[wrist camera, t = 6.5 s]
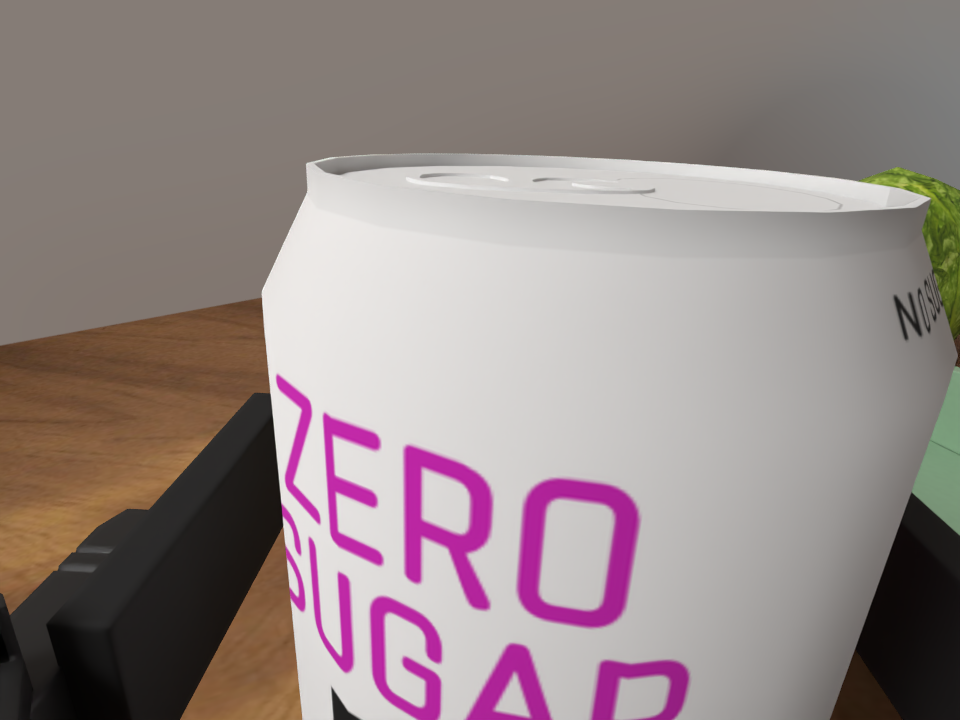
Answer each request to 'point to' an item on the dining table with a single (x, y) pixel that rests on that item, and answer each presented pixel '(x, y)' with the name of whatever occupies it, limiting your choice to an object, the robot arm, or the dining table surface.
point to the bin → (943, 461)
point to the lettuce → (936, 232)
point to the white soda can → (593, 433)
